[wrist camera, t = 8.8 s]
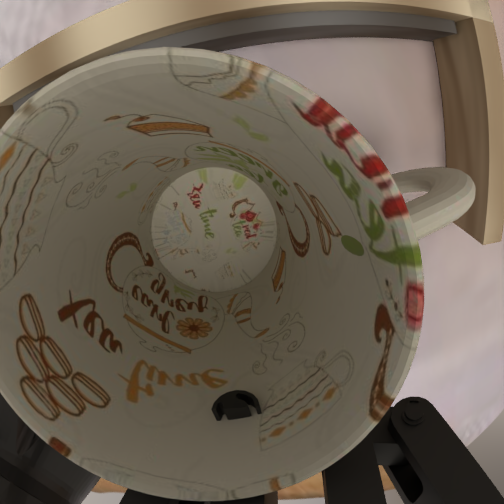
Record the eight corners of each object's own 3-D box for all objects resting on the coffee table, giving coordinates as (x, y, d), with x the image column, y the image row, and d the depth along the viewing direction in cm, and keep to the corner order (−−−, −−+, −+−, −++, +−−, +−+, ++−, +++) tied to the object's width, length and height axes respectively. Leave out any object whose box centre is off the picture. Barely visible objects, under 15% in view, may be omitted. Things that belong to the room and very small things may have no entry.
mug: (98, 183, 13) (-82, 213, 4) (352, 80, 12) (492, -27, 3) (171, 339, 15) (104, 508, 5) (409, 246, 14) (566, 335, 4)
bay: (72, 274, 16) (42, 309, 13) (19, 85, 11) (-26, 88, 8) (462, 214, 14) (501, 241, 11) (443, 6, 9) (484, -9, 6)
